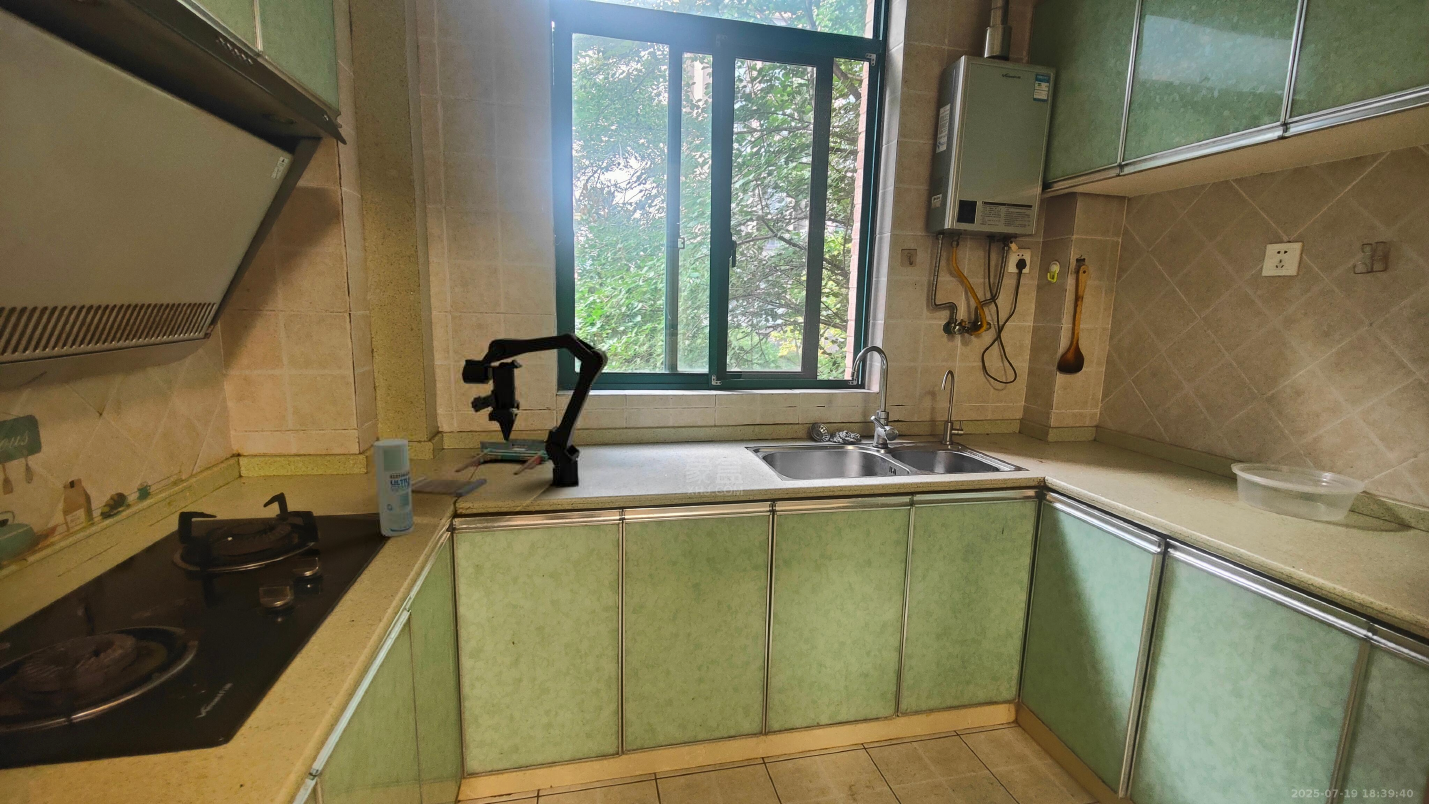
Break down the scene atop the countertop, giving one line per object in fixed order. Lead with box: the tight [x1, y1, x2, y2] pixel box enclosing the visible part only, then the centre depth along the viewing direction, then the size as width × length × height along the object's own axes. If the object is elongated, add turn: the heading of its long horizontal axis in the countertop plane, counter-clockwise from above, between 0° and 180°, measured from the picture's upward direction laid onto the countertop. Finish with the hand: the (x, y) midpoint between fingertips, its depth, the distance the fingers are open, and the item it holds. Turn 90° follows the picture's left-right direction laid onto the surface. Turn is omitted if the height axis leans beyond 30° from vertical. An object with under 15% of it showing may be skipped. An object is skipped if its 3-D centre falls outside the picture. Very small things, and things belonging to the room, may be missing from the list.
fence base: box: [454, 478, 488, 498], centre depth 154 cm, size 2×12×2 cm, turn 173°
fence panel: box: [411, 476, 474, 496], centre depth 155 cm, size 1×10×15 cm
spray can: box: [372, 438, 414, 537], centre depth 126 cm, size 6×6×20 cm
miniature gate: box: [454, 437, 550, 475], centre depth 183 cm, size 27×6×30 cm
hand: (506, 440), depth 162 cm, fingers closed
